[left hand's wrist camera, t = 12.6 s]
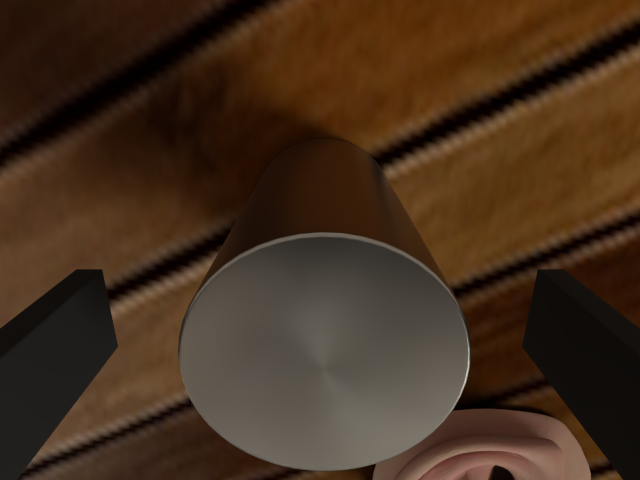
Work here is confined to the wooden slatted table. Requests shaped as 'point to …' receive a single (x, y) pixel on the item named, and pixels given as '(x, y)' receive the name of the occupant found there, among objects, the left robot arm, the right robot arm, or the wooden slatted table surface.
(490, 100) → the wooden slatted table surface
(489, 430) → the anatomical model
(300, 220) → the canister
